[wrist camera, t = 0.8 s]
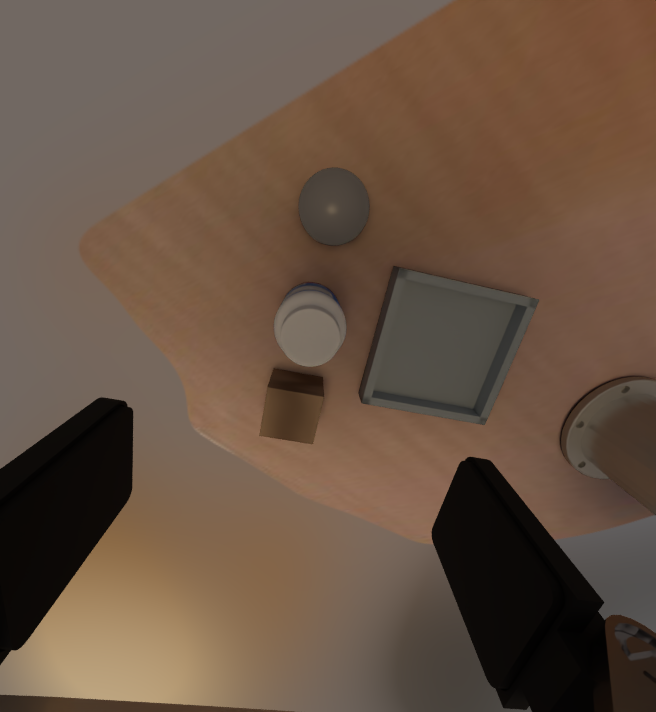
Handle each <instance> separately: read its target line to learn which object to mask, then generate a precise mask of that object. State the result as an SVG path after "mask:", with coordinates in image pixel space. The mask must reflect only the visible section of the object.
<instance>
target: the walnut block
mask: <svg viewBox="0 0 656 712" xmlns="http://www.w3.org/2000/svg"><path fill="white" fill-rule="evenodd" d="M323 399H324V390H323V377H319V376H313V375H308V374H302V373H297V372H291V371H286V370H280V369H275V368H274V369H273V372H272V375H271V378H270V381H269V384H268V388H267V394H266V400H265V405H264V411H263V417H262V423H261V429H260V435H259V436H264V437H270V438H277V439H283V440H289V441H295V442H302V443H308V444H313V442H314V437H315V433H316V429H317V425H318V420H319V416H320V412H321V408H322V403H323Z"/></svg>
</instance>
